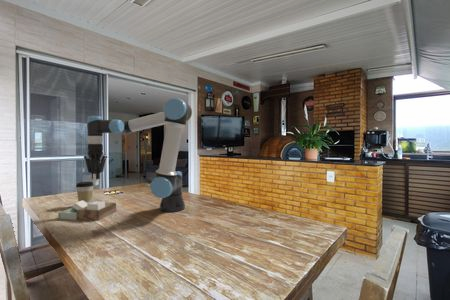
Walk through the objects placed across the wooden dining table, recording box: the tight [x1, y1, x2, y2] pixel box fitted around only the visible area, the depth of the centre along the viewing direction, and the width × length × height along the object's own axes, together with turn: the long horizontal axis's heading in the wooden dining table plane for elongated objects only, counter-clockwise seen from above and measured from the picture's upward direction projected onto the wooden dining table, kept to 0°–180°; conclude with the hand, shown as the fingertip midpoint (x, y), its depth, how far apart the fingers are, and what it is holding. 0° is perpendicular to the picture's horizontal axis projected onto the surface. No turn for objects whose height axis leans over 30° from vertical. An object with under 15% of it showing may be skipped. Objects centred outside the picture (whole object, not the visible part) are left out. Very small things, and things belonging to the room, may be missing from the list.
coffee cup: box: [75, 181, 95, 204], centre depth 145 cm, size 10×10×15 cm
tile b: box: [87, 200, 106, 210], centre depth 122 cm, size 6×6×3 cm
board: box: [76, 202, 117, 221], centre depth 127 cm, size 12×16×5 cm
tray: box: [57, 207, 77, 221], centre depth 128 cm, size 10×17×4 cm, turn 175°
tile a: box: [72, 200, 87, 210], centre depth 132 cm, size 6×6×3 cm
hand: (95, 184), depth 130 cm, fingers closed
